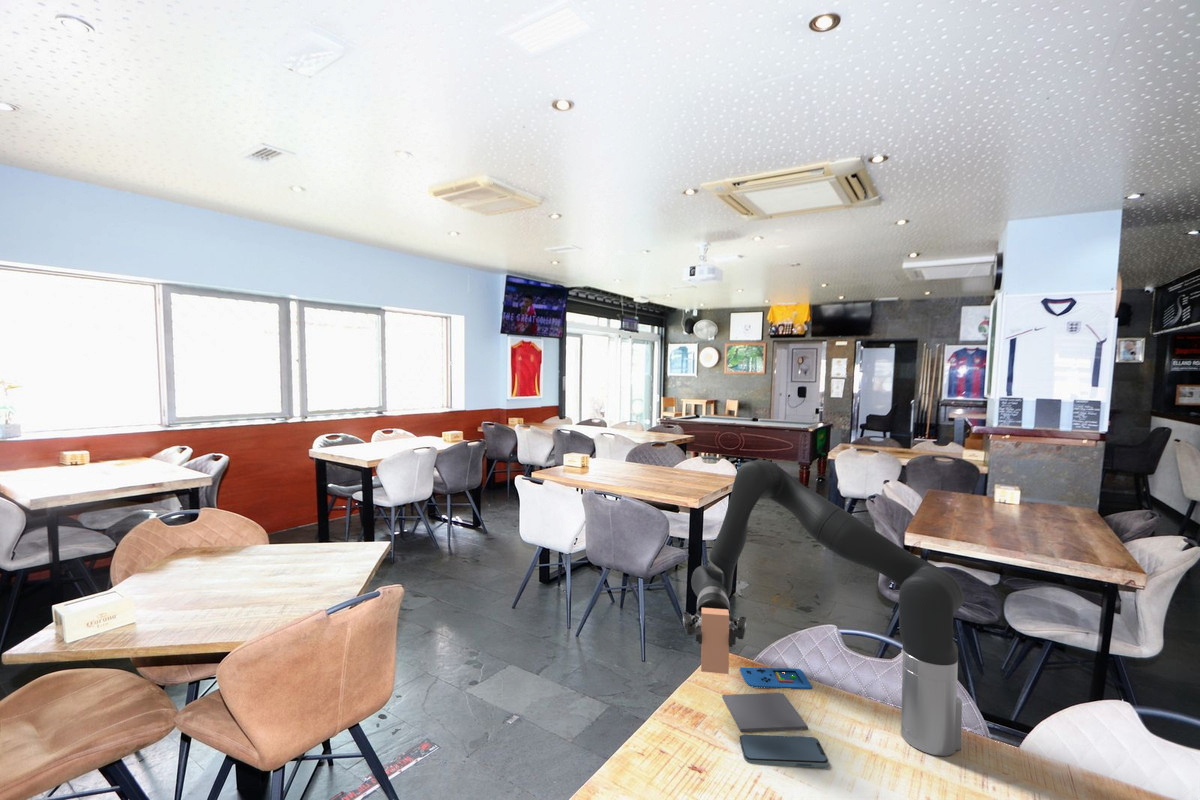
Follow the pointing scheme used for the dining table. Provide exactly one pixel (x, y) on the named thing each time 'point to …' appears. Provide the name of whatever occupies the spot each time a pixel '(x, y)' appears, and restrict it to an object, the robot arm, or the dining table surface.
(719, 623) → the tan rectangular block
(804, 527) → the robot arm
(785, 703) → the rubber mat
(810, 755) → the smartphone
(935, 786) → the dining table surface
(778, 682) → the handheld gaming device
